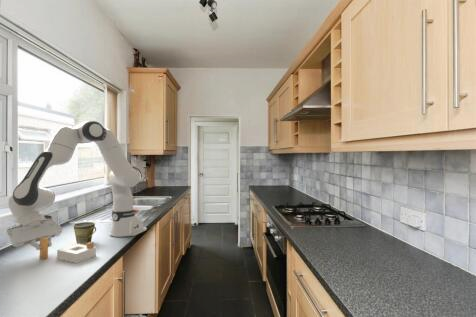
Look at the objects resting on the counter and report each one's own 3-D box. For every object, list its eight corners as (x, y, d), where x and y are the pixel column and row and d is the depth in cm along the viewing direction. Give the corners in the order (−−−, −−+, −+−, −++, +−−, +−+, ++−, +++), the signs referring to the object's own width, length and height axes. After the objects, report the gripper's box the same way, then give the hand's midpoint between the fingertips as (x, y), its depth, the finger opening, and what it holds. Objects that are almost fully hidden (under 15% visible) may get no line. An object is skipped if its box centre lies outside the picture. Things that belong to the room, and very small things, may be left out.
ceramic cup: (68, 244, 144) (68, 225, 144) (85, 239, 153) (85, 221, 153) (87, 247, 139) (87, 227, 139) (103, 242, 149) (103, 223, 149)
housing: (77, 251, 133) (77, 239, 133) (95, 255, 128) (96, 242, 128) (57, 258, 124) (57, 245, 124) (76, 263, 119) (76, 249, 119)
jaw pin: (45, 256, 126) (45, 236, 126) (49, 257, 125) (49, 237, 125) (38, 258, 123) (38, 238, 123) (42, 259, 122) (42, 239, 122)
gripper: (8, 223, 117) (22, 250, 113) (56, 214, 136) (69, 237, 132) (1, 233, 119) (15, 259, 115) (50, 222, 138) (63, 245, 134)
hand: (44, 247), depth 124 cm, fingers closed on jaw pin, 3 cm apart
